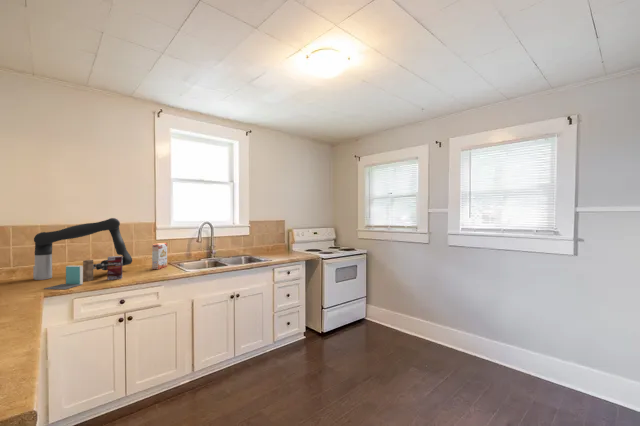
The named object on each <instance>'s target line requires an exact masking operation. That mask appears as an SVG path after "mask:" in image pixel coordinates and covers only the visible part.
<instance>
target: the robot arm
mask: <svg viewBox="0 0 640 426" xmlns="http://www.w3.org/2000/svg"><path fill="white" fill-rule="evenodd" d="M120 224H121V222H120V220H119V219H118V218H115V217H111V218H107V219H105V220H101V221H97V222H88V223H87V222H86V223H81V224H76V225H72V226H68V227H65V228H62V229H59V230H53V231H47V232H46V231H41V232H39V233H37V234H36V235H35V236H34V238H33V241H34V265H33V266H32V268H33V269H32V271H33V274H32V275H33V280H34V281H40V280H47V279H48V280H49V279H51V278H53V243H55V242H59V241H63V240H64V241H65V240H71V239H78V238H82V237H87V236H90V235H93V234H96V233H99V232H103V231H109V233H110V236H111V239H112V242H113V246H114V250H115V251H116V252H115V253H116V254H117V256H123V258H122V267H123V266H129V265H131V264H132V263H133V257H132V256H131V255H130V253H129V252H128V250H127V247H126V245H125V242H124V239H123V237H122V235H121V231H120V226H121V225H120ZM93 270H97V271H98V270H99V271H100V270H102V271H108V259H104V260H102V261H101V262H99V263H93Z"/></svg>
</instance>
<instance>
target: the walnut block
mask: <svg viewBox="0 0 640 426" xmlns="http://www.w3.org/2000/svg"><path fill="white" fill-rule="evenodd" d="M93 264H94V259H86V260H85V259H84V260H82V266H83V282H91V281H94V269H93Z"/></svg>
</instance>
